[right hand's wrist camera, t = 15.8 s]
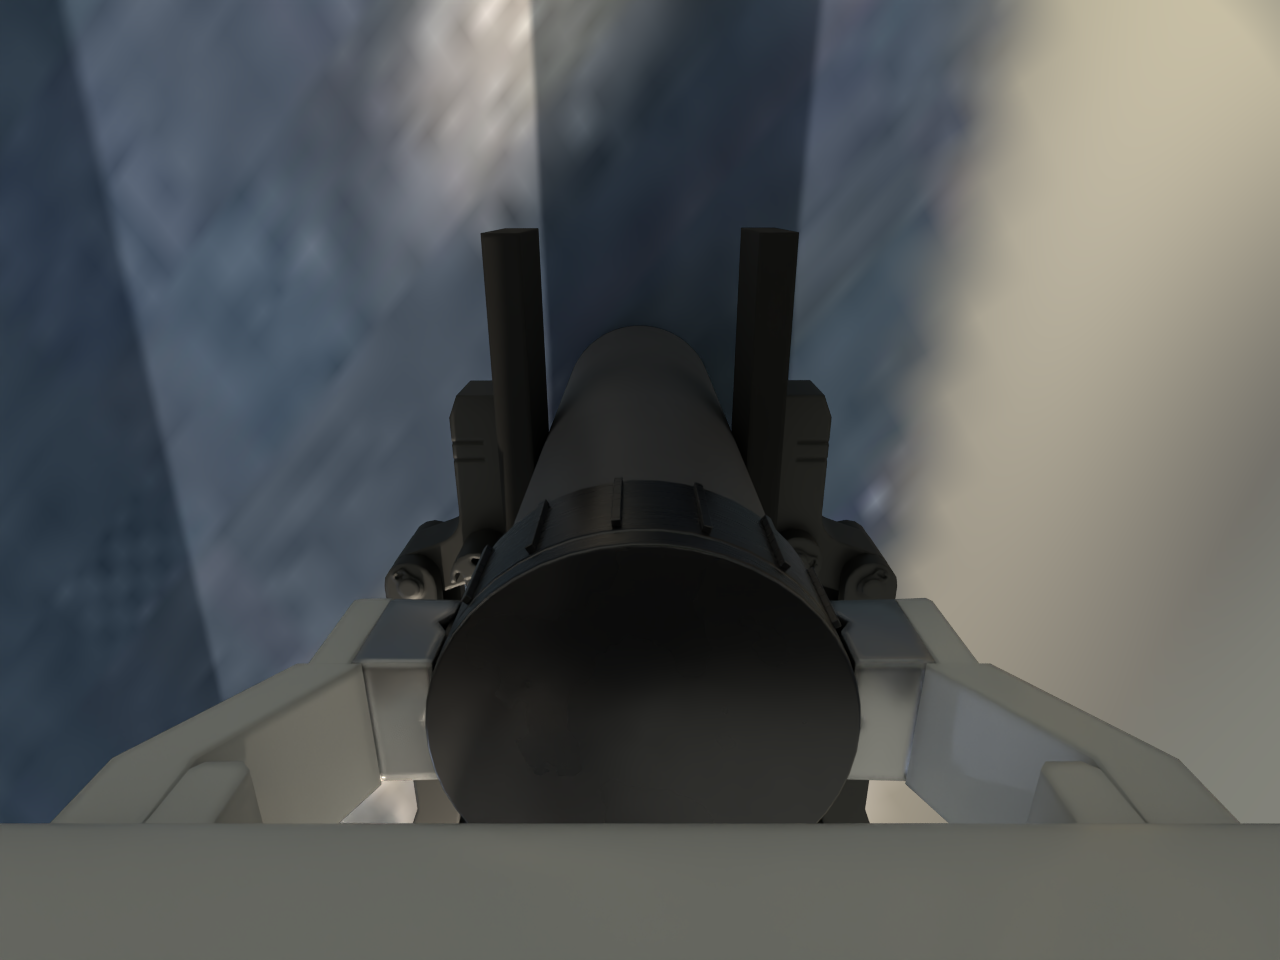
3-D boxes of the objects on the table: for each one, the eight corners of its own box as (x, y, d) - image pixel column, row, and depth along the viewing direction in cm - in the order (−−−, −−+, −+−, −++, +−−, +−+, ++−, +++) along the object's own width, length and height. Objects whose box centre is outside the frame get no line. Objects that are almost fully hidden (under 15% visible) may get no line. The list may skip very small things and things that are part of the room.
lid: (859, 739, 11) (902, 843, 9) (536, 821, 11) (518, 934, 10) (775, 425, 9) (809, 480, 7) (396, 541, 9) (342, 617, 8)
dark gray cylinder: (659, 488, 24) (690, 891, 10) (541, 417, 23) (394, 750, 9) (739, 377, 23) (905, 661, 9) (617, 296, 22) (582, 468, 8)
